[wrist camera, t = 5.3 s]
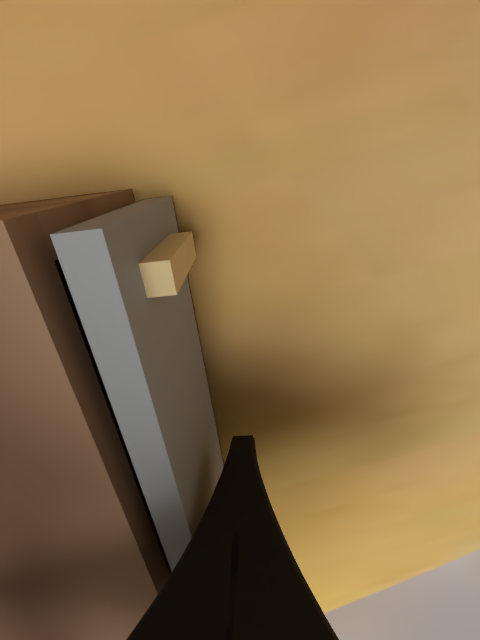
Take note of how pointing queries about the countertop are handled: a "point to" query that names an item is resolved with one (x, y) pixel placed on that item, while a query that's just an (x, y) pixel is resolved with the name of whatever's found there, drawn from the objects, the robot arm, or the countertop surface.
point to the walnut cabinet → (63, 451)
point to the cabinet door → (149, 355)
